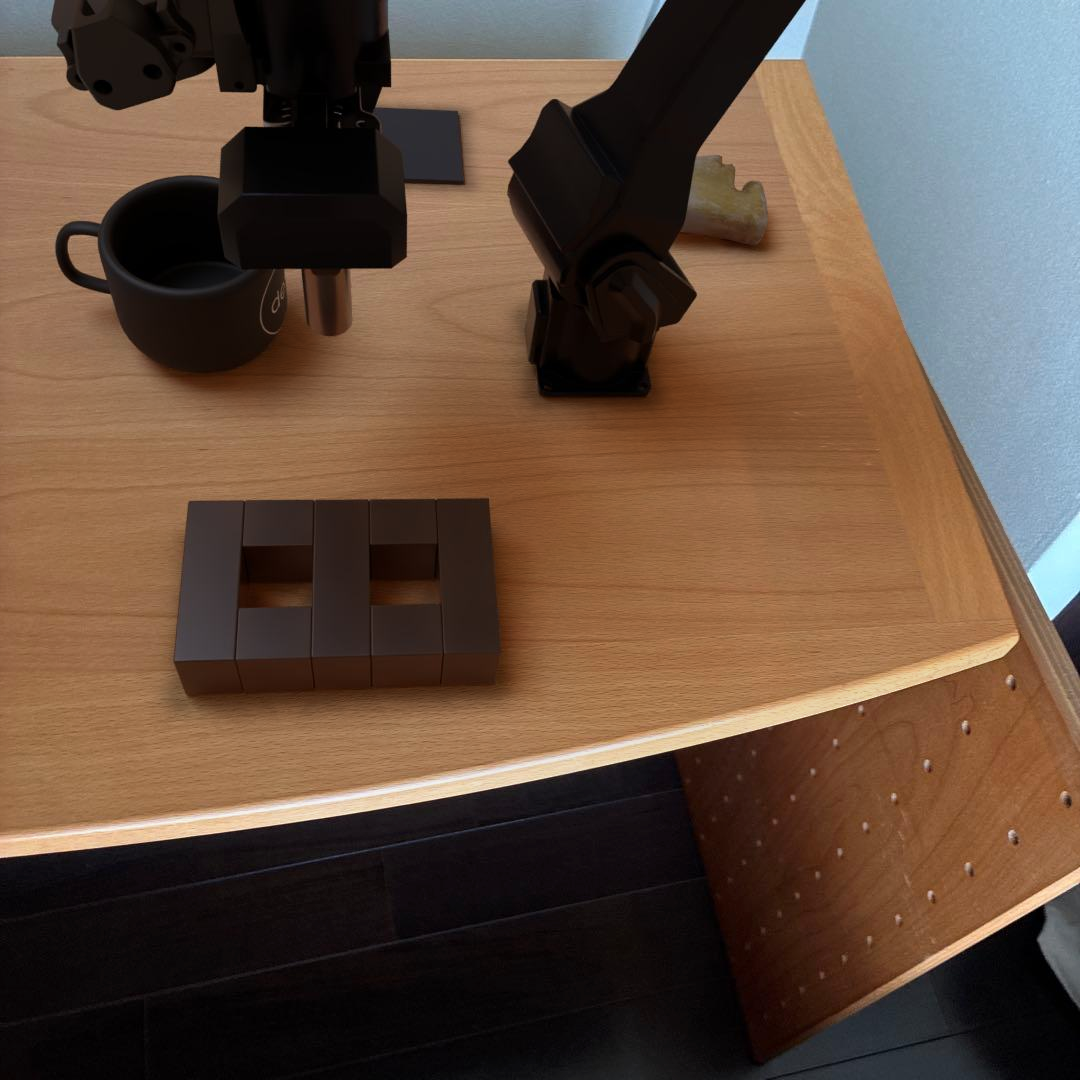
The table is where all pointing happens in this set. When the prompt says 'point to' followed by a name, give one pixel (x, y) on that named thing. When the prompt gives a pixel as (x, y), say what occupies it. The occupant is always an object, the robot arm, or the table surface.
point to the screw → (328, 302)
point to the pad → (425, 143)
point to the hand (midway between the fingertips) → (324, 240)
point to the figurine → (724, 204)
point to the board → (336, 595)
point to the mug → (179, 278)
